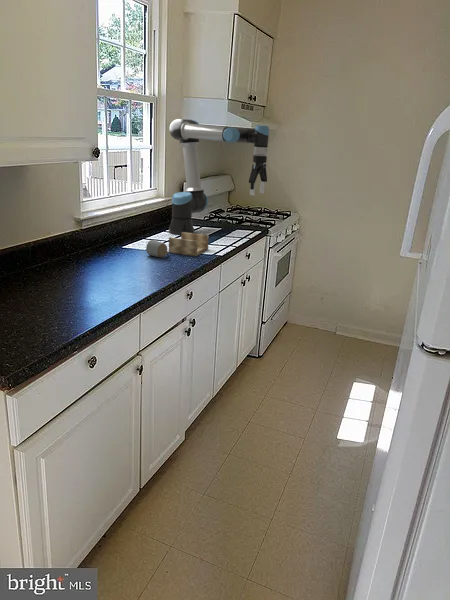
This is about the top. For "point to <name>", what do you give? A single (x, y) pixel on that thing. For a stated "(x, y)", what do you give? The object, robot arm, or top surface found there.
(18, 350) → the top surface
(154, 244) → the ceramic mug
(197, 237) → the holder
